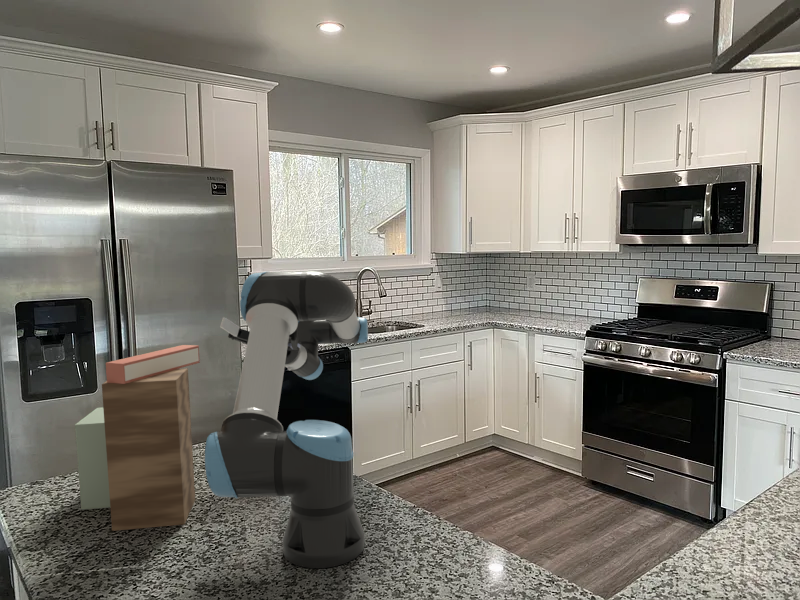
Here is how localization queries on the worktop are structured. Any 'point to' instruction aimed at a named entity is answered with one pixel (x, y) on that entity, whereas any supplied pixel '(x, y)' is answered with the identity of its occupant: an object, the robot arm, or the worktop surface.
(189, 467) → the walnut block
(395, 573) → the worktop surface
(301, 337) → the robot arm
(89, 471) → the sage step
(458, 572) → the worktop surface
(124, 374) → the salmon pink bar
